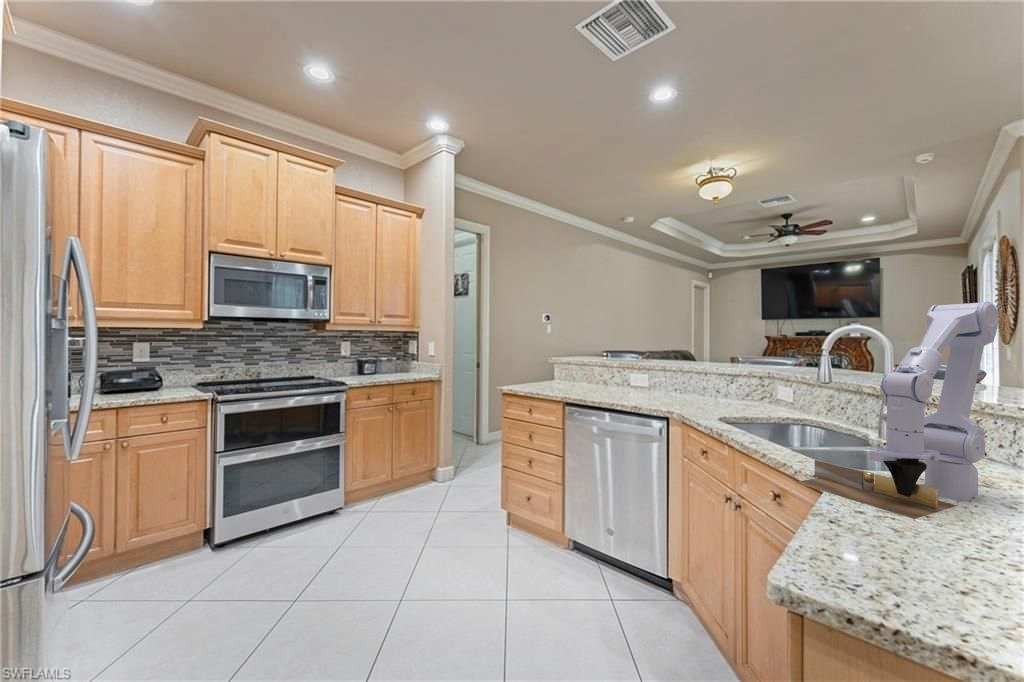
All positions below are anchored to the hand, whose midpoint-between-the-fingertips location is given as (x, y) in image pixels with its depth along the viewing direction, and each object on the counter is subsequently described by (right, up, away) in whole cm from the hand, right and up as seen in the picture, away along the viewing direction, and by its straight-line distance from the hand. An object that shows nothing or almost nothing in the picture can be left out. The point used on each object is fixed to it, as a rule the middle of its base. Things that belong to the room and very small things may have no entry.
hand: (904, 495), depth 86 cm
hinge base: (-3, -3, +6) cm, 7 cm away
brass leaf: (+1, -1, +2) cm, 3 cm away
